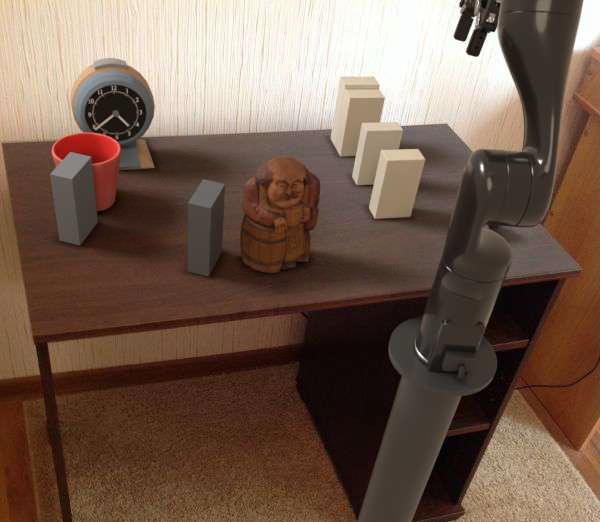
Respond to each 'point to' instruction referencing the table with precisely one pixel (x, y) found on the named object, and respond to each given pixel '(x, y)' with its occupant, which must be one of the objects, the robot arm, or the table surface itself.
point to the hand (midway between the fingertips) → (465, 47)
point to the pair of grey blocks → (83, 217)
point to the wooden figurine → (279, 215)
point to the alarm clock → (115, 108)
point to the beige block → (374, 149)
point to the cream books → (392, 163)
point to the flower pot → (94, 162)
